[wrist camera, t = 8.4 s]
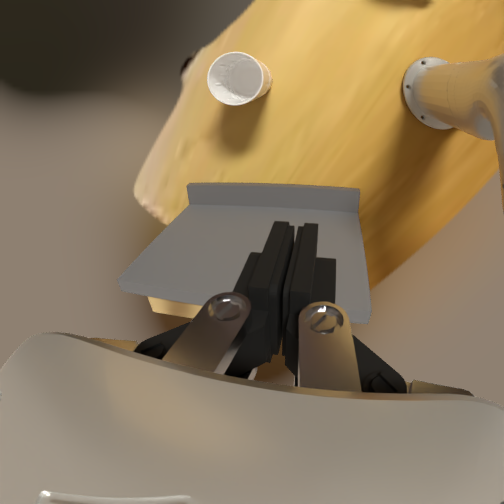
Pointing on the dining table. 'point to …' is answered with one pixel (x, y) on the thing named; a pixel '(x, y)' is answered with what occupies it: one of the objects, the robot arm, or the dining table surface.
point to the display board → (250, 241)
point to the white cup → (238, 78)
